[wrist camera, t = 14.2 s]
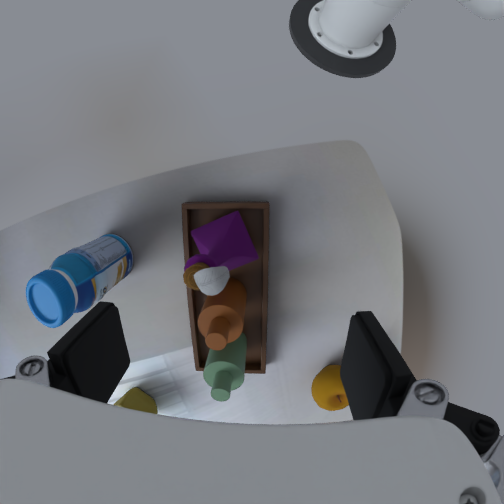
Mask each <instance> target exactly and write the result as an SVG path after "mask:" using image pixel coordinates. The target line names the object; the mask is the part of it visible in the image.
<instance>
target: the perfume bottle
mask: <svg viewBox="0 0 504 504" xmlns="http://www.w3.org/2000/svg"><path fill="white" fill-rule="evenodd" d="M191 235H192V237H193V239H194V241H195V243H196V245H197V247H198V249H199V251H200V254H196V255H194V256H192V257H191V258H189V259H188V260H187V262H186V265H185V267H184V271H185V272H184V275H183V278H184V282H185V284H186V285H187V286H188V287H189V288H191V289H193V290H201V292H203V293H204V294H206V295H210V296H213V295H217V294H219V293H220V292H221V291H222V290H223V289H224V287H225V286H226V284H227V281H228V279H229V277H230V276H229V271H230V270H232V269H235V268H237V267H240V266H242V265H245V264H247V263H250V262H252V261H255V260H257V259H259V256H258V254H257V252H256V250H255V247H254V245H253V243H252V241H251V238H250V236H249V234H248V232H247V229H246V227H245V225H244V222H243V220H242V218H241V216H240V213H239V212H238V211H235V212H233V213H230V214H228V215H226V216H224V217H221V218H219V219H217V220H214V221H212V222H210V223H208V224H205V225H203V226H201V227H199V228H197V229H194V230H192V231H191Z"/></svg>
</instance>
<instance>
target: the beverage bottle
mask: <svg viewBox="0 0 504 504" xmlns="http://www.w3.org/2000/svg"><path fill="white" fill-rule="evenodd" d="M132 266H133V254H132V251H131V248H130V247H129V245H128V243H127V242H126V241H125V240H124V239H123V238H121V237H120V236H117V235H114V234H106V235H103V236H101V237H99V238H98V239H96V240H93V241H91V242H89V243H87V244H85V245H82V246H80V247H77V248H73V249H71V250H69V251H68V252H66V253H65V254H64V255H61V256H59V257H58V258H56V259H55V260H54V262H53V263H52V264H51V266H50V268H49V269H48V270H45V271H43V272H41V273H39V274H37V275H35V276H33V277H32V278H31V279H30V280H29V282H28V284H27V287H26V298H27V302H28V305H29V307H30V309H31V311H32V313H33V315H34V316H35V317H36V318H37V319H38V321H40V322H41V323H42V324H43V325H45V326H47V327H50V328H56V327H59V326H60V325H62V324H63V323H64V322H66V321H67V320H68V319H69V318H70V317H71V316H72V315H73V313H78V312H82V311H85V310H87V309H89V308H90V307H91V306H92V305H93V304H95V303H96V302H98V301H99V300H101V299H102V298H103V296H104V295H105V294H106V293H107V292H108V291H109V290H110V289H111V288H112V287H114V286H115V285H116V284H117V283H118V282H119V281H121V280H122V279H124V278H125V277H126V276H127V275H128V274H129V273H130V271H131V269H132Z"/></svg>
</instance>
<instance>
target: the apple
mask: <svg viewBox="0 0 504 504" xmlns="http://www.w3.org/2000/svg"><path fill="white" fill-rule="evenodd" d="M340 368H341V365H329V366H326V367H325V368H323V369H322V370H321V371H320V372H319V373H318V374H317V375H316V377H315V378H314V380H313V383H312V396H313V398H314V400H315V402H316V403H317V404H318V406H319V407H321V408H323V409H326V410H329V411H335V410H340V409H343V408H345V407H346V406H348V405H349V403H348V400H347V397H346V393H345V390H344V387H343V384H342V381H341V377H340Z"/></svg>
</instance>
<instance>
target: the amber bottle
mask: <svg viewBox="0 0 504 504" xmlns="http://www.w3.org/2000/svg"><path fill="white" fill-rule="evenodd" d="M246 298H247V292H246V289H245V287H244V285H243V284H242V283H241V282H240V281H238V280H237V279H234V278H230V277H229V279H228V281H227V284H226V286H225V287H224V289H223V290H222V291H221V292H220V293H219V294H217V295H213V296H210V295H208V296H207V298H206V300H205V303H204V305H203V308H202V310H201V312H200V315H199V317H198V327H199V330H200V332H201V334H202V335H203V336H204V337H205V342H206V345H207V346H208V347H209V348H210V349H212V350H222V349H224V348H225V347H226V345H227V343H231V342H233V341H235V340H236V339H237V338H238V337H239V336H240V335H241V333H242V331H243V325H244V316H245V307H246Z"/></svg>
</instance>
